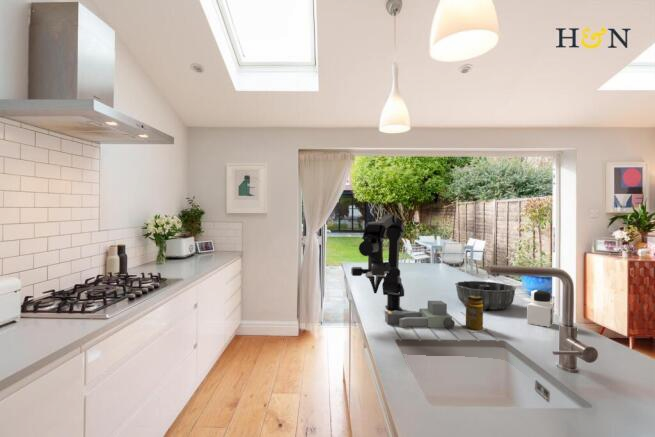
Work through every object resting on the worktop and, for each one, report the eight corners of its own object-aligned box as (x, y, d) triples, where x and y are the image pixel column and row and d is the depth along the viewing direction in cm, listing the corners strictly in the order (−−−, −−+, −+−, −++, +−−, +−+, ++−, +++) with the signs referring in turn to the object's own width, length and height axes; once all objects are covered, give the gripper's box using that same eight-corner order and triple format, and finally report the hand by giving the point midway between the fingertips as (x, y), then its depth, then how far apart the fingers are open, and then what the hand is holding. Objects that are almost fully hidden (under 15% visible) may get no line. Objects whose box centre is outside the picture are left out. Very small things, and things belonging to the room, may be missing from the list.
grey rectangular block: (385, 321, 139) (385, 310, 139) (402, 321, 140) (402, 310, 140) (387, 324, 135) (387, 313, 135) (405, 324, 135) (405, 313, 135)
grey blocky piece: (391, 316, 145) (392, 297, 145) (440, 317, 145) (440, 298, 145) (400, 328, 130) (400, 307, 130) (454, 328, 130) (454, 307, 130)
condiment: (487, 329, 130) (488, 297, 130) (474, 333, 125) (474, 300, 125) (470, 324, 136) (470, 293, 136) (457, 327, 132) (457, 296, 132)
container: (553, 323, 138) (554, 291, 138) (549, 328, 132) (549, 294, 132) (531, 319, 143) (532, 288, 143) (526, 323, 137) (527, 290, 137)
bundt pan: (447, 299, 179) (448, 279, 179) (499, 300, 178) (499, 280, 178) (466, 312, 153) (466, 290, 153) (527, 314, 152) (527, 291, 152)
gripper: (354, 256, 129) (353, 297, 129) (403, 256, 129) (403, 298, 129) (351, 252, 140) (350, 291, 140) (397, 253, 140) (396, 291, 140)
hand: (375, 293), depth 137 cm, fingers closed
